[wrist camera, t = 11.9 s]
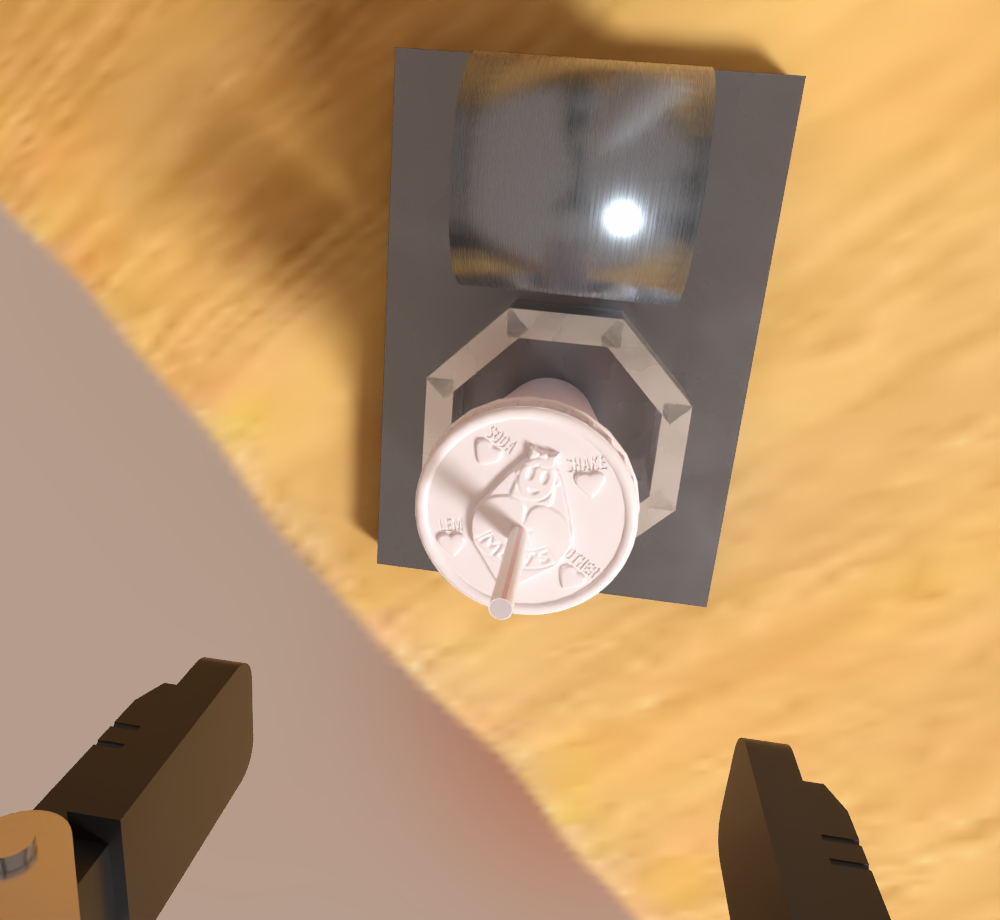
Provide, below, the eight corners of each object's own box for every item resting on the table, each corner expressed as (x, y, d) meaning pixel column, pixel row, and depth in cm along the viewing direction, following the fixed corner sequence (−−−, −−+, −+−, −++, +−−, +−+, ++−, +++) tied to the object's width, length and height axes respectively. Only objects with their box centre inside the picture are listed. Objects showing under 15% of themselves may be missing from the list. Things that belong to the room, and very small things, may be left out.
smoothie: (450, 474, 32) (345, 663, 19) (489, 322, 30) (401, 417, 17) (601, 518, 32) (601, 740, 19) (651, 368, 30) (690, 501, 17)
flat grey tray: (405, 54, 29) (329, -2, 21) (795, 82, 28) (873, 33, 20) (386, 548, 35) (322, 650, 27) (701, 590, 34) (732, 709, 26)
